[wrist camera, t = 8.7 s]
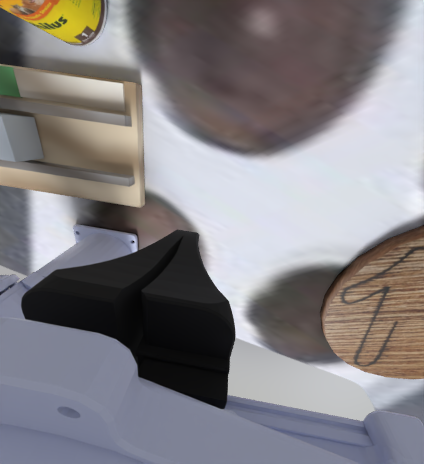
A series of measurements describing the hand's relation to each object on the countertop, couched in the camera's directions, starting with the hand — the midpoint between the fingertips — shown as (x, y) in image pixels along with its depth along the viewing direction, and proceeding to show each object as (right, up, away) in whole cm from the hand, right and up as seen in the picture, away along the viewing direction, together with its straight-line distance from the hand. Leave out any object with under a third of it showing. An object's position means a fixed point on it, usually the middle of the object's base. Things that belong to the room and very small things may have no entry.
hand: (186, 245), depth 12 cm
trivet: (+29, -9, +13) cm, 33 cm away
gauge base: (-15, +10, +8) cm, 20 cm away
